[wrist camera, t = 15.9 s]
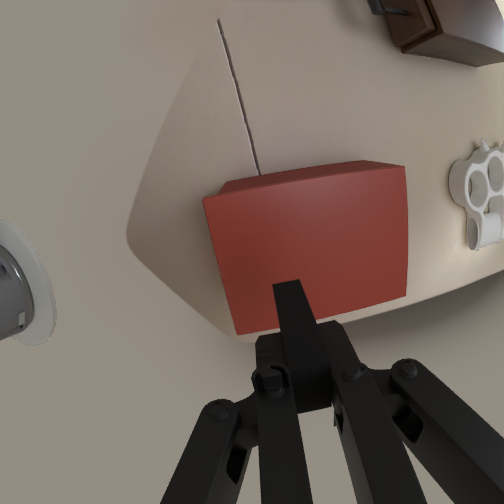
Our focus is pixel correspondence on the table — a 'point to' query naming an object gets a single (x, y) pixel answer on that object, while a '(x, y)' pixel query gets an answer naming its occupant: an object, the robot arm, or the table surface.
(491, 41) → the cabinet
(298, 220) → the lid
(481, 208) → the white brass knuckles
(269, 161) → the table surface
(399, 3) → the drawer
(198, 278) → the table surface
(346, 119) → the table surface
